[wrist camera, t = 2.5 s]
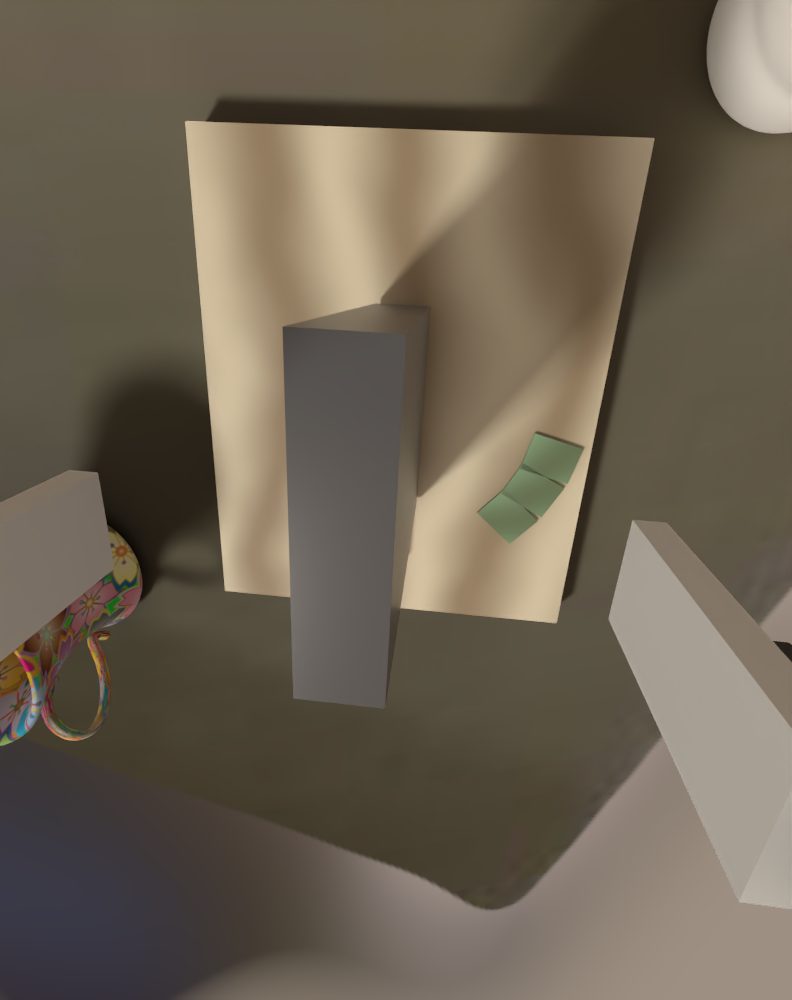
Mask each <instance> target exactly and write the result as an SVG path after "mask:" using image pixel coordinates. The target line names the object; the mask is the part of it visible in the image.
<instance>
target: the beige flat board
mask: <svg viewBox="0 0 792 1000" xmlns="http://www.w3.org/2000/svg"><path fill="white" fill-rule="evenodd" d="M185 125H186V137H187V149H188V161H189V172H190V184H191V196H192V208H193V219H194V231H195V243H196V255H197V266H198V278H199V290H200V302H201V313H202V325H203V337H204V349H205V361H206V372H207V384H208V396H209V408H210V419H211V431H212V443H213V455H214V466H215V478H216V490H217V502H218V513H219V525H220V537H221V549H222V560H223V572H224V584H225V591H232V592H243V593H253V594H263V595H273V596H284V597H290V565H289V531H288V497H287V463H286V429H285V396H284V362H283V328H282V326H286V325H290V324H294V323H298V322H303V321H307V320H311V319H315V318H319V317H323V316H327V315H331V314H335V313H339V312H343V311H347V310H351V309H355V308H359V307H363V306H367V305H371V304H375V303H378V304H395V305H412V306H429V307H430V321H429V335H428V349H427V363H426V377H425V391H424V404H423V418H422V432H421V446H420V460H419V474H418V487H417V501H416V509H415V515H414V522H413V528H412V535H411V542H410V548H409V555H408V561H407V568H406V574H405V581H404V587H403V594H402V601H401V607H400V608H406V609H416V610H427V611H437V612H447V613H457V614H468V615H478V616H488V617H498V618H508V619H519V620H529V621H539V622H549V623H557V619H558V614H559V609H560V604H561V599H562V594H563V589H564V584H565V579H566V574H567V569H568V564H569V559H570V554H571V550H572V545H573V540H574V535H575V530H576V525H577V520H578V515H579V510H580V505H581V500H582V495H583V490H584V485H585V480H586V475H587V470H588V466H589V461H590V456H591V451H592V446H593V441H594V436H595V431H596V426H597V421H598V416H599V411H600V406H601V401H602V396H603V391H604V386H605V382H606V377H607V372H608V367H609V362H610V357H611V352H612V347H613V342H614V337H615V332H616V327H617V322H618V317H619V312H620V307H621V302H622V297H623V293H624V288H625V283H626V278H627V273H628V268H629V263H630V258H631V253H632V248H633V243H634V238H635V233H636V228H637V223H638V218H639V213H640V209H641V204H642V199H643V194H644V189H645V184H646V179H647V174H648V169H649V164H650V159H651V154H652V149H653V144H654V139H655V138H641V137H613V136H585V135H558V134H530V133H503V132H475V131H447V130H420V129H392V128H364V127H337V126H309V125H282V124H254V123H226V122H199V121H185Z"/></svg>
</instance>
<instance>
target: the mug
mask: <svg viewBox="0 0 792 1000" xmlns="http://www.w3.org/2000/svg"><path fill="white" fill-rule="evenodd" d="M107 528H108V534H109V539H110V545H111V551H112V557H113V563H114V569H113V570H112V571H110V572H109V573H108V574H107V575H105V576H104V577H103V578H102V579H101V580H99V581H98V582H97V583H96V584H95V585H93V586H92V587H91V588H90V589H88V590H87V591H86V592H85V593H84V594H82V595H81V596H80V597H79V598H77V599H76V600H75V601H74V602H73V603H71V604H70V605H69V606H68V607H66V608H65V609H64V610H63V611H62V612H60V613H59V614H58V615H57V616H56V617H54V618H53V619H52V620H51V621H49V622H48V623H47V624H46V625H45V626H43V627H42V628H41V629H40V630H38V631H37V632H36V633H35V634H34V635H32V636H31V637H30V638H29V639H28V640H26V641H25V642H24V643H23V644H21V645H20V646H19V647H18V648H17V649H15V650H14V651H13V652H12V653H10V654H9V655H8V656H7V657H6V658H4V659H3V660H2V661H1V662H0V746H1V745H5V744H8V743H11V742H13V741H15V740H17V739H18V738H20V737H22V736H23V735H25V734H26V733H27V732H28V731H29V730H30V729H31V728H32V727H33V725H34V724H35V723H36V721H37V719H38V717H39V715H40V713H42V716H43V719H44V721H45V723H46V725H47V726H48V728H49V729H50V730H51V731H52V732H53V733H54V734H56V735H57V736H59V737H61V738H63V739H66V740H74V741H76V740H82V739H85V738H87V737H89V736H91V735H93V734H94V733H95V732H96V731H97V730H98V729H99V728H100V727H101V726H102V724H103V723H104V721H105V719H106V716H107V713H108V710H109V706H110V699H111V680H110V673H109V668H108V664H107V660H106V657H105V655H104V652H103V650H102V647H101V645H100V643H99V640H106V639H107V638H109V637H110V632H109V631H98V632H95V631H97V630H98V629H101V628H103V627H107V626H111V625H114V624H116V623H118V622H120V621H122V620H123V619H125V618H126V617H128V616H129V615H130V614H131V613H132V612H133V610H134V609H135V607H136V606H137V604H138V602H139V600H140V597H141V593H142V574H141V570H140V566H139V563H138V560H137V558H136V556H135V554H134V553H133V551H132V549H131V548H130V546H129V545H128V544H127V542H126V541H125V540H124V539H123V538H122V537H121V536H120V535H119V534H118V533H117V532H116V531H115V530H114V529H112V528H111V527H110V526H109V525H107ZM93 632H95V633H93ZM92 633H93V634H92ZM90 634H91V635H90ZM89 635H90V636H89ZM88 636H89V637H88ZM86 637H88V639H87V643H88V646H89V649H90V651H91V654H92V656H93V659H94V661H95V664H96V667H97V671H98V675H99V681H100V703H99V709H98V713H97V716H96V719H95V721H94V723H93V724H92V726H91V727H90V728H89V729H86V730H74V729H71V728H69V727H67V726H66V725H64V724H63V723H62V722H61V721H60V720H59V718H58V717H57V715H56V713H55V710H54V707H53V692H54V688H55V685H56V683H57V682H58V680H59V677H58V676H56V674H57V672H58V670H59V669H60V667H61V665H62V664H63V663H64V661H65V660H66V658H67V657H68V656H69V655H70V653H71V652H72V651H73V650H74V649H75V648H76V647H77V646H78V645H79V644H80V643H81V642H82V641H83V640H84V639H85V638H86Z"/></svg>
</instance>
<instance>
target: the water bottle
mask: <svg viewBox="0 0 792 1000" xmlns="http://www.w3.org/2000/svg"><path fill="white" fill-rule="evenodd" d="M707 69H708V75H709V80H710V84H711V87H712V90H713V92H714V95H715V97H716V98H717V100H718V102H719V104H720V105H721V107H722V108H723V109H724V110H725V112H726V113H727V114H728V115H729V116H730V117H731V118H732V119H734V120H735V121H736V122H738V123H740V124H741V125H743V126H744V127H747V128H749V129H752V130H755V131H758V132H764V133H789V132H792V0H718V2H717V4H716V7H715V10H714V13H713V16H712V20H711V23H710V27H709V34H708V40H707Z"/></svg>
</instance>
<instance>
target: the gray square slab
mask: <svg viewBox="0 0 792 1000" xmlns="http://www.w3.org/2000/svg"><path fill="white" fill-rule="evenodd" d="M429 321H430V307H429V306H412V305H395V304H378V303H375V304H371V305H367V306H363V307H359V308H355V309H351V310H347V311H343V312H339V313H335V314H331V315H327V316H323V317H319V318H315V319H311V320H307V321H303V322H298V323H294V324H290V325H286V326H282V328H283V362H284V396H285V429H286V463H287V497H288V531H289V565H290V598H291V632H292V666H293V698H294V699H303V700H312V701H321V702H330V703H339V704H348V705H357V706H366V707H375V708H384V709H385V705H386V699H387V692H388V686H389V679H390V673H391V666H392V660H393V653H394V646H395V640H396V633H397V627H398V620H399V614H400V607H401V601H402V594H403V587H404V581H405V574H406V568H407V561H408V555H409V548H410V542H411V535H412V528H413V522H414V515H415V509H416V501H417V487H418V474H419V460H420V446H421V432H422V418H423V404H424V391H425V377H426V363H427V349H428V335H429Z"/></svg>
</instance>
